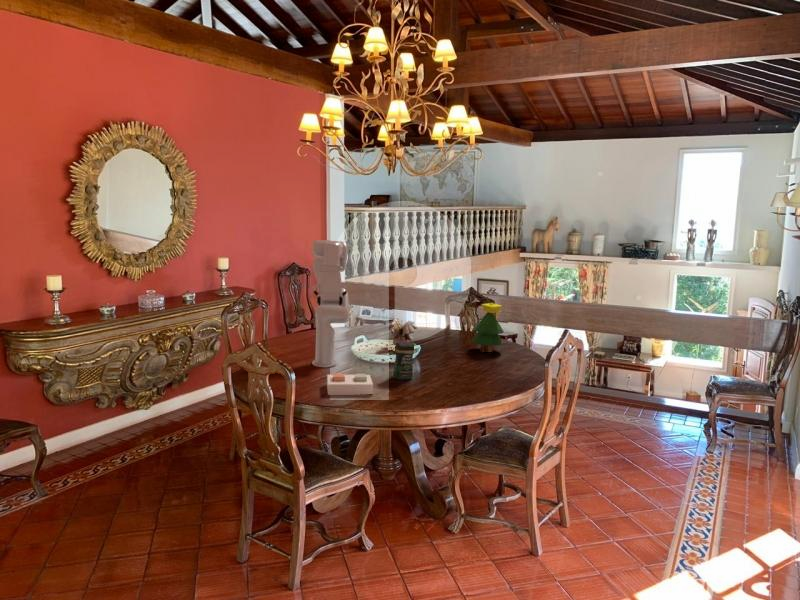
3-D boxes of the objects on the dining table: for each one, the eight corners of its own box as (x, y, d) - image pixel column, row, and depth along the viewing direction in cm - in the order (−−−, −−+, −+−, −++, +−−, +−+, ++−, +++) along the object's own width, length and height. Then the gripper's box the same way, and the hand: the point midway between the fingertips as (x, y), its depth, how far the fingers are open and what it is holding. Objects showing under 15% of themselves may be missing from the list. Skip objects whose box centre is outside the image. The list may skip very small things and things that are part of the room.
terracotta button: (332, 380, 274) (333, 373, 273) (343, 380, 275) (344, 373, 274) (333, 384, 269) (333, 376, 268) (344, 384, 270) (344, 376, 269)
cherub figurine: (419, 346, 357) (421, 317, 354) (416, 354, 340) (418, 323, 337) (390, 343, 360) (392, 314, 356) (385, 351, 342) (387, 321, 339)
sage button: (354, 380, 275) (354, 373, 275) (365, 380, 276) (365, 373, 276) (355, 384, 271) (355, 377, 270) (366, 384, 271) (366, 377, 271)
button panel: (326, 384, 278) (327, 374, 278) (369, 384, 282) (369, 374, 281) (328, 395, 265) (328, 384, 264) (372, 395, 268) (373, 384, 267)
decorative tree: (463, 349, 356) (467, 300, 351) (486, 345, 368) (490, 298, 362) (486, 357, 341) (490, 306, 336) (509, 353, 353) (514, 304, 347)
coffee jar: (395, 380, 290) (397, 343, 287) (391, 375, 298) (393, 339, 294) (414, 380, 293) (416, 343, 290) (409, 375, 301) (412, 339, 297)
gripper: (348, 268, 283) (347, 304, 285) (311, 267, 279) (310, 303, 282) (350, 270, 275) (348, 306, 278) (312, 269, 272) (311, 306, 275)
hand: (329, 305), depth 280 cm, fingers open, 9 cm apart
